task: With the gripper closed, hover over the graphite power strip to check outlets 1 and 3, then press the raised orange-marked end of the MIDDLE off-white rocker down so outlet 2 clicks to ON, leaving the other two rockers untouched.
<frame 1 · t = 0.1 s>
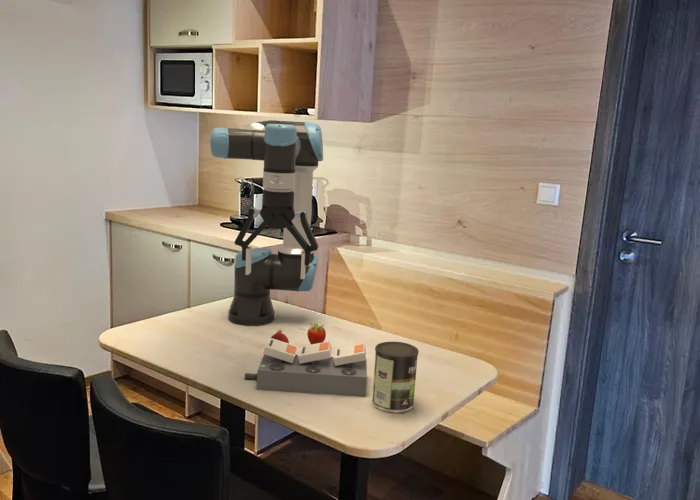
hand: (275, 275, 156), 28 cm above the table, fingers open, 13 cm apart
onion: (278, 357, 178), on the table
power strip: (313, 382, 162), on the table
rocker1: (280, 349, 163), point 7 cm above the table, hinge at -15.0°
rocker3: (349, 354, 163), point 7 cm above the table, hinge at 15.0°
fruit: (315, 348, 187), on the table
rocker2: (315, 351, 163), point 7 cm above the table, hinge at 15.0°
coffee can: (392, 404, 153), on the table
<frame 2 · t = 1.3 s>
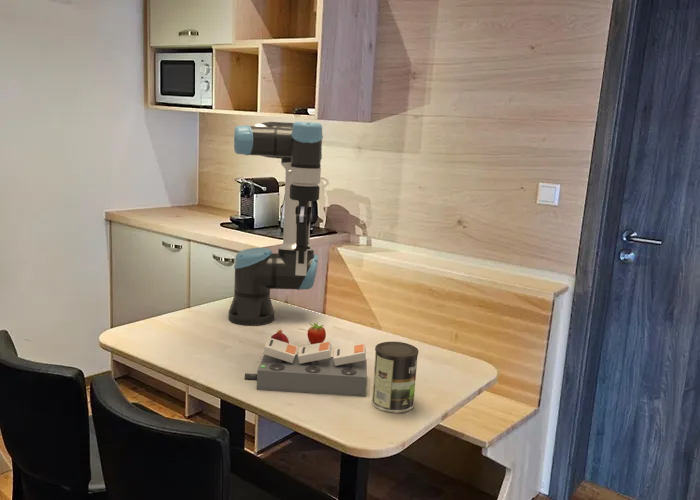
hand: (300, 274, 165), 26 cm above the table, fingers closed
nothing on the table moved.
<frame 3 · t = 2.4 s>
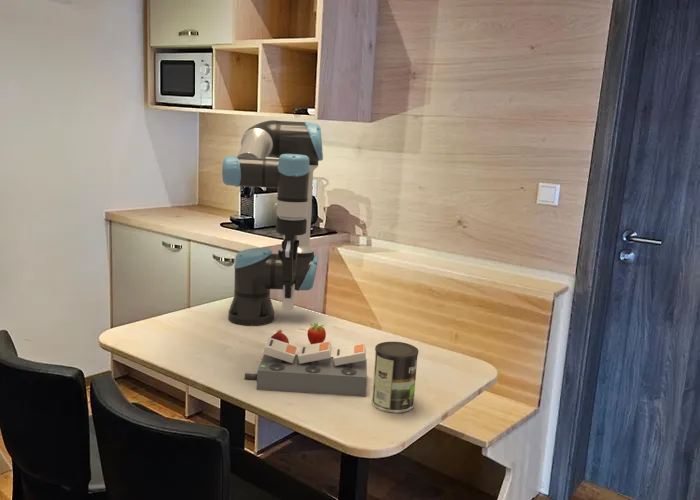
hand: (287, 309, 161), 19 cm above the table, fingers closed
nothing on the table moved.
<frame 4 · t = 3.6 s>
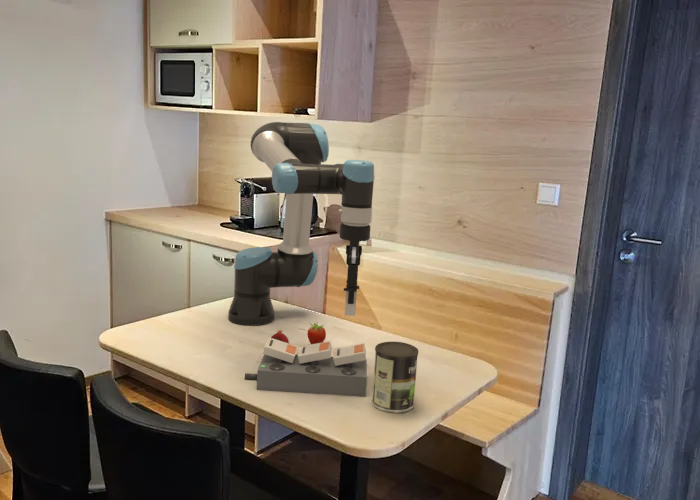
hand: (349, 314, 161), 18 cm above the table, fingers closed
nothing on the table moved.
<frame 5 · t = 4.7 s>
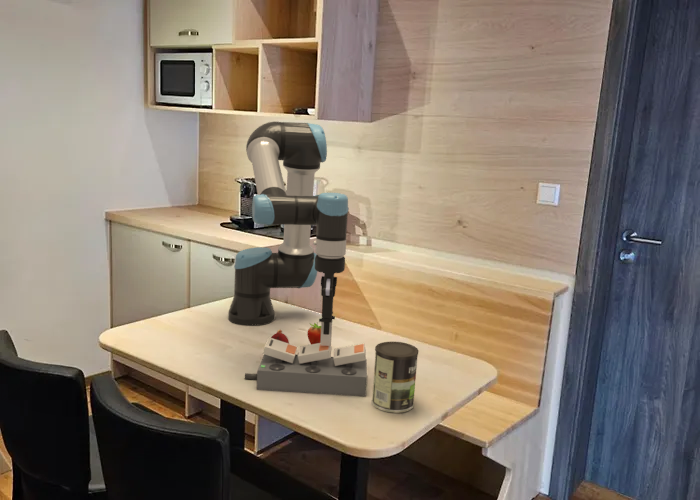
hand: (325, 344, 163), 10 cm above the table, fingers closed
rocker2: (315, 351, 163), point 7 cm above the table, hinge at 14.8°, touching gripper
everything else where it was.
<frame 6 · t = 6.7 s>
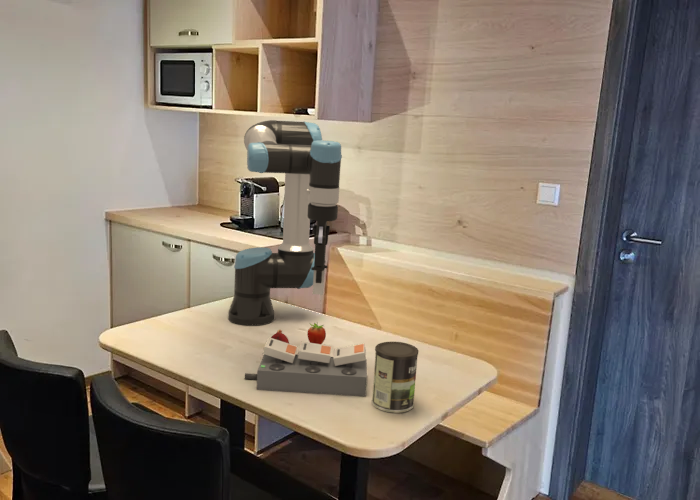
hand: (318, 293, 163), 22 cm above the table, fingers closed
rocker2: (315, 351, 163), point 7 cm above the table, hinge at -5.5°
everything else where it was.
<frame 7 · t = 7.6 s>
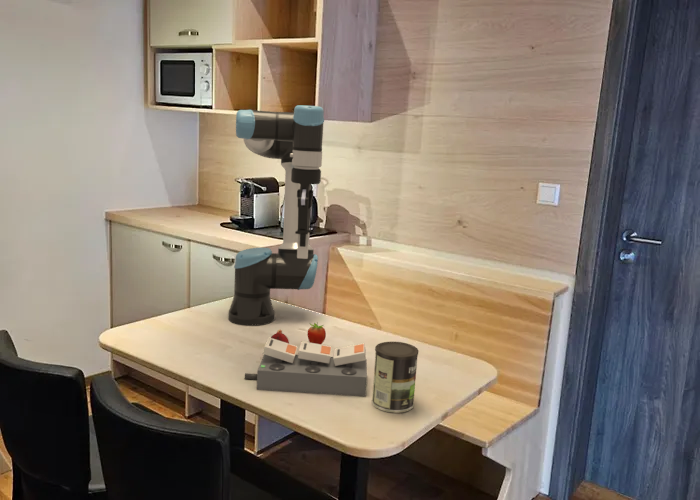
hand: (302, 257, 166), 30 cm above the table, fingers closed
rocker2: (315, 351, 163), point 7 cm above the table, hinge at -6.4°
everything else where it was.
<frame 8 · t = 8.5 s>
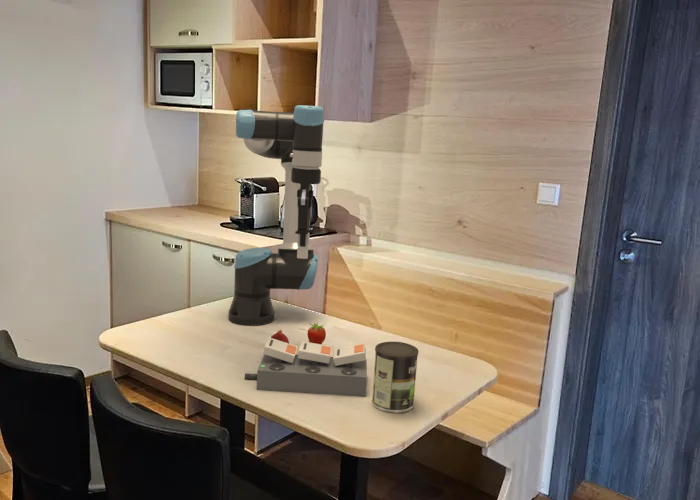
hand: (302, 257, 166), 30 cm above the table, fingers closed
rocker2: (315, 351, 163), point 7 cm above the table, hinge at -6.8°
everything else where it was.
at the end: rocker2 at -7° (first picture: +15°); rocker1 at -15° (first picture: -15°); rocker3 at +15° (first picture: +15°) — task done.
